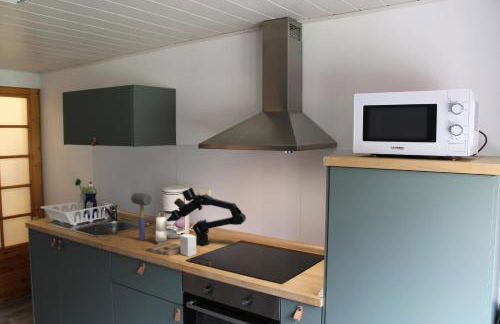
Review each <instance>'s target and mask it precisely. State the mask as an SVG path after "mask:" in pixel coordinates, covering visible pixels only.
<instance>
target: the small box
mask: <svg viewBox="0 0 500 324" xmlns="http://www.w3.org/2000/svg"><path fill="white" fill-rule="evenodd" d="M179 238H180V239H179V245H180V254H181V255H183V256H186V257H191V256H192V257H193V256H196V255H197V245H196V243H197V236H196V235H193V234H191V233H187V234H186V233H184V234H179Z"/></svg>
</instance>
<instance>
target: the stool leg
mask: <svg viewBox="0 0 500 324" xmlns="http://www.w3.org/2000/svg"><path fill="white" fill-rule="evenodd" d="M167 233H168V231H167V216H157V217H155V242H156V243H157V244H161V243H164V242H167V240H168V239H167V237H168V234H167Z"/></svg>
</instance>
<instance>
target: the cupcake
mask: <svg viewBox="0 0 500 324" xmlns="http://www.w3.org/2000/svg"><path fill="white" fill-rule="evenodd" d="M183 220H184V219H183ZM183 220H182V218H181V219H179V220H177V221H174V222H175V223H173V226H174V225H175V226H176V227H178V228H182V227H183V226H184V223H183Z"/></svg>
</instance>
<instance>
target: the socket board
mask: <svg viewBox="0 0 500 324" xmlns="http://www.w3.org/2000/svg"><path fill="white" fill-rule="evenodd" d="M145 249H146V252H148V251H149V253H152V252H154V253H153V254H157V253H158V254H157V255H161V254H163V256H165V255H167V256H166V257H171V256H174V255H176V254H177V255H178V254H181V252H180V244H176V243H172V242H167V241H165V242H164V243H161V244H158V243H157V244H154V245H151V246H147V247H146V248H145ZM170 255H171V256H170Z"/></svg>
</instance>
